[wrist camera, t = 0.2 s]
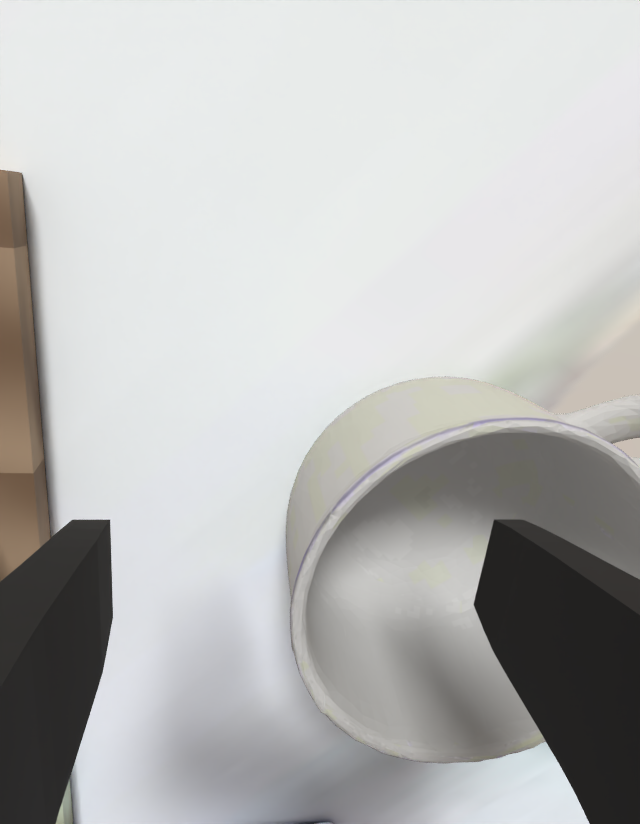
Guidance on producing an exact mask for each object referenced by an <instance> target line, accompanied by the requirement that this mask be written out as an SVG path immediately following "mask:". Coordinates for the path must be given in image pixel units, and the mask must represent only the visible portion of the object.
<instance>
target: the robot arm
mask: <svg viewBox="0 0 640 824" xmlns="http://www.w3.org/2000/svg"><path fill="white" fill-rule="evenodd" d="M473 605H474V607H475V610H476V612H477V615H478V617H479V620H480V622H481V625H482V627H483V630H484V632H485V634H486V637H487V639H488V641H489V643H490V646H491V648H492V650H493V652H494V654H495V656H496V658H497V659H498V661H499V663H500V665H501V666H502V668H503V670H504V671H505V673H506V675H507V677H508V678H509V680H510V682H511V683H512V685H513V687H514V689H515V690H516V692H517V694H518V695H519V697H520V699H521V700H522V702H523V704H524V705H525V707H526V709H527V710H528V712H529V714H530V715H531V717H532V719H533V721H534V722H535V724H536V726H537V727H538V729H539V731H540V732H541V734H542V736H543V737H544V739H545V741H546V742H547V744H548V746H549V747H550V749H551V751H552V752H553V754H554V756H555V757H556V759H557V761H558V762H559V764H560V766H561V768H562V770H563V772H564V773H565V775H566V777H567V779H568V781H569V782H570V784H571V786H572V788H573V790H574V792H575V794H576V796H577V798H578V800H579V802H580V804H581V806H582V808H583V810H584V812H585V815H586V817H587V819H588V821H589V823H590V824H640V579H638V578H636V577H634V576H632V575H630V574H628V573H626V572H625V571H623V570H621V569H619V568H617V567H615V566H613V565H611V564H610V563H608V562H606V561H604V560H602V559H600V558H598V557H597V556H595V555H593V554H591V553H589V552H587V551H585V550H584V549H582V548H580V547H578V546H576V545H574V544H572V543H571V542H569V541H567V540H565V539H563V538H561V537H559V536H557V535H555V534H553V533H551V532H549V531H547V530H545V529H543V528H541V527H539V526H537V525H534V524H532V523H530V522H527V521H525V520H522V519H494V521H493V525H492V530H491V534H490V538H489V542H488V546H487V550H486V555H485V559H484V563H483V567H482V571H481V575H480V579H479V584H478V588H477V592H476V596H475V600H474V604H473ZM112 618H113V607H112V572H111V538H110V520H72V521H70V522H69V523H68V524H67V525H66V526H64V527H63V528H62V529H61V530H60V531H59V532H57V533H56V534H55V535H54V536H53V537H52V538H50V539H49V540H48V541H47V542H46V543H45V544H44V545H42V546H41V547H40V548H39V549H38V550H37V551H36V552H34V553H33V554H32V555H31V556H30V557H29V558H28V559H26V560H25V561H24V562H23V563H22V564H21V565H20V566H18V567H17V568H16V569H15V570H14V571H12V572H11V573H10V574H9V575H8V576H6V577H5V578H4V579H3V580H2V581H0V824H56V821H57V817H58V814H59V810H60V807H61V804H62V801H63V798H64V794H65V791H66V788H67V785H68V782H69V778H70V775H71V772H72V769H73V766H74V762H75V759H76V756H77V753H78V750H79V747H80V743H81V740H82V737H83V734H84V731H85V727H86V724H87V721H88V718H89V715H90V711H91V708H92V705H93V702H94V698H95V695H96V692H97V689H98V685H99V682H100V679H101V675H102V672H103V667H104V662H105V657H106V651H107V646H108V641H109V635H110V630H111V624H112ZM316 824H333V823H331V822H324V823H316Z"/></svg>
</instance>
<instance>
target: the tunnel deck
mask: <svg viewBox="0 0 640 824" xmlns="http://www.w3.org/2000/svg"><path fill="white" fill-rule="evenodd" d="M50 538H51V537H50V524H49V511H48V499H47V486H46V473H45V461H44V448H43V436H42V423H41V410H40V398H39V385H38V372H37V360H36V347H35V335H34V322H33V309H32V297H31V284H30V271H29V259H28V246H27V234H26V221H25V208H24V196H23V183H22V173H19V172H12V171H5V170H0V581H2V580H3V579H4V578H5V577H6V576H8V575H9V574H10V573H11V572H12V571H14V570H15V569H16V568H17V567H18V566H20V565H21V564H22V563H23V562H24V561H25V560H26V559H28V558H29V557H30V556H31V555H32V554H33V553H34V552H36V551H37V550H38V549H39V548H40V547H41V546H42V545H44V544H45V543H46V542H47V541H48V540H49V539H50ZM56 824H73V814H72V802H71V789H70V778H69V782H68V785H67V788H66V791H65V794H64V798H63V801H62V804H61V807H60V810H59V814H58V817H57V821H56Z"/></svg>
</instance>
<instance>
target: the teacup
mask: <svg viewBox="0 0 640 824" xmlns="http://www.w3.org/2000/svg"><path fill="white" fill-rule="evenodd" d="M639 437H640V394H637V395H631V396H626V397H622V398H619V399H615V400H611V401H607V402H604V403H601V404H598V405H594V406H591V407H588V408H585V409H581V410H578V411H575V412H572V413H568V414H552V413H550V412H549V411H547V410H545V409H543V408H541V407H540V406H538V405H536V404H534V403H533V402H531V401H529V400H527V399H525V398H523V397H521V396H519V395H517V394H515V393H513V392H510V391H508V390H506V389H503V388H500V387H497V386H494V385H492V384H489V383H486V382H481V381H477V380H472V379H467V378H457V377H428V378H421V379H415V380H409V381H405V382H401V383H397V384H395V385H392V386H389V387H386V388H383V389H381V390H378V391H376V392H374V393H372V394H370V395H368V396H366V397H365V398H363V399H361V400H360V401H358V402H357V403H355V404H354V405H352V406H351V407H349V408H348V409H347V410H345V411H344V412H343V413H342V414H341V415H339V416H338V417H337V418H336V419H335V420H334V421H333V422H332V423H331V424H330V425H329V426H328V427H327V428H326V429H325V430H324V431H323V432H322V434H321V435H320V436H319V437H318V439H317V440H316V441H315V443H314V444H313V446H312V447H311V449H310V450H309V452H308V453H307V455H306V456H305V458H304V460H303V462H302V465H301V467H300V469H299V471H298V473H297V476H296V479H295V482H294V485H293V488H292V491H291V495H290V500H289V505H288V510H287V522H286V553H287V565H288V577H289V585H290V594H291V607H290V629H291V643H292V649H293V652H294V655H295V659H296V663H297V666H298V670H299V672H300V675H301V677H302V679H303V681H304V683H305V685H306V687H307V689H308V691H309V693H310V695H311V697H312V699H313V700H314V702H315V703H316V705H317V706H318V708H319V709H320V711H321V712H322V713H324V714H325V715H326V716H327V717H328V718H329V719H330V720H331V721H332V722H333V723H334V724H335V725H336V726H337V727H339V728H340V729H341V730H343V731H344V732H345V733H347V734H348V735H349V736H351V737H352V738H353V739H355V740H356V741H359V742H361V743H363V744H366V745H368V746H370V747H371V748H373V749H375V750H377V751H379V752H381V753H384V754H387V755H391V756H395V757H399V758H404V759H408V760H412V761H419V762H426V763H454V762H479V761H483V760H487V759H494V758H500V757H503V756H506V755H508V754H513V753H518V752H521V751H524V750H527V749H531V748H534V747H535V746H537V745H539V744H540V743H543V742H546V741H545V739H544V737H543V736H542V734H541V732H540V731H539V729H538V727H537V726H536V724H535V722H534V721H533V719H532V717H531V715H530V714H529V712H528V710H527V709H526V707H525V705H524V704H523V702H522V700H521V699H520V697H519V695H518V694H517V692H516V690H515V689H514V687H513V685H512V683H511V682H510V680H509V678H508V677H507V675H506V673H505V671H504V670H503V668H502V666H501V665H500V663H499V661H498V659H497V658H496V656H495V654H494V652H493V650H492V648H491V646H490V643H489V641H488V639H487V637H486V634H485V632H484V630H483V627H482V625H481V622H480V620H479V617H478V615H477V612H476V610H475V607H474V605H473V604H474V600H475V596H476V592H477V588H478V584H479V579H480V575H481V571H482V567H483V563H484V559H485V555H486V550H487V546H488V542H489V538H490V534H491V530H492V525H493V521H494V519H522V520H525V521H527V522H530V523H532V524H534V525H537V526H539V527H541V528H543V529H545V530H547V531H549V532H551V533H553V534H555V535H557V536H559V537H561V538H563V539H565V540H567V541H569V542H571V543H572V544H574V545H576V546H578V547H580V548H582V549H584V550H585V551H587V552H589V553H591V554H593V555H595V556H597V557H598V558H600V559H602V560H604V561H606V562H608V563H610V564H611V565H613V566H615V567H617V568H619V569H621V570H623V571H625V572H626V573H628V574H630V575H632V576H634V577H636V578H638V579H640V458H635V457H629V456H628V455H627V454H626V453H624V452H623V451H622V450H620V449H619V448H618V447H616V446H615V445H613V443H616V442H619V441H624V440H628V439H633V438H639Z"/></svg>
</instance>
